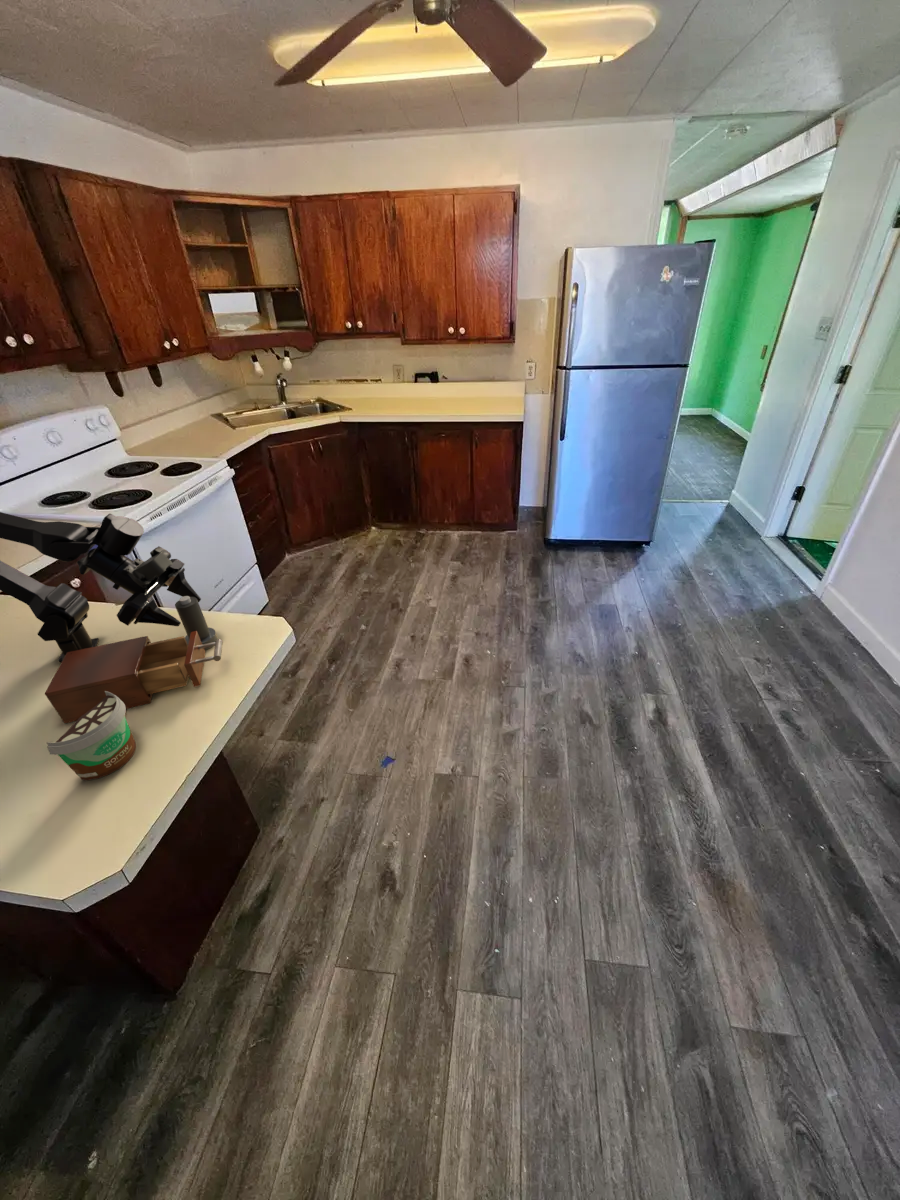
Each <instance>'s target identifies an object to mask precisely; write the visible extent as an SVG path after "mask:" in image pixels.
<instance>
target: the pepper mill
mask: <svg viewBox="0 0 900 1200" xmlns="http://www.w3.org/2000/svg"><path fill="white" fill-rule="evenodd" d="M174 607H175V609H176V612H177V614H178V616H179V619H180V622H181V623H182V626H183V629H184V630H185V633H186V635H188V638H189V639H190V634H191V632H193V631H197V632H198V635H199V637H200V640H201V641H202V640H204V639H206V638H207V637H208V636H209V635H210V631H209V628H210V627H209V625H208V623H207V621H206V619H205V616H204V613H203V611H202V608H201V606H200V602H198V600H197V598H195V597H189V596H184V597H182V596H180V598H179V599H178V600H177V601H176V602H175V604H174ZM208 627H209V628H208Z"/></svg>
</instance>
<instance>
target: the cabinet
mask: <svg viewBox="0 0 900 1200" xmlns="http://www.w3.org/2000/svg"><path fill="white" fill-rule="evenodd" d="M148 643H152V642H151V640H150V638H149V636H148V635H144V636H140V637H135V638H129V639H125V640H120V641H116V642H110V643H106V644H101V645H97V646H95V647H91V648H86V649H81V650H76V651H71V652H67V654H66V655H65V657H64V659H63V661H62V662H60V665H59V666H58V668H57V670H56V671H55V674H54V675H53V677H52V679H51V680H50V683H49V684H48V686H47V689H46V690H45V691H44V695H45V696H46V698H47V700H48V701H49V702H50V704H51V706H52V707H53V708H54V710H55V712H56V713H57V714H58V716H59V717H60V719H61V720H62V722H63V723H64V724H68V723H73V722H76V721H77V720H78V719H79V718H80V717H81V716H82V715H84V714H85V713H87V712H88V711H90V710H91V709H92V708H94V707H95V706H96V705H97V704H98V703H100V702H101V701H102V700H103V699H104V698H105V697H106V694H105V691H107V692H110V693H112V694H114V695H116V696H117V697H118V698H119V699H120V700H121V701H122V702H123V703H124V704H125V707H126V710H128V709H132V708H135V707H139V706H144V705H148V704H151V702H152V698H153V695H154V693H152V694H147V692H146V690H145V688H144V686H143V684H142V682H141V681H140V679H139V677H138V675H137V673H138V670H139V667H140V664H141V661H142V658H143V655H144V652H145V649H146V646H147V644H148Z"/></svg>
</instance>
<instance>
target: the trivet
mask: <svg viewBox="0 0 900 1200" xmlns="http://www.w3.org/2000/svg"><path fill="white" fill-rule="evenodd" d="M208 628H209V631H210V635H209V636H208V637H207V638H206V639H204V640H202V641H201V642H202V645H203V644H208V643H212V642H216V640H217V639H219V637H218V635H217V632H216V629H214V628H213V627H209V626H208ZM184 637H185V640H186V642H187V644H189V638H188V635H187V634H186V635H184ZM212 647H213V646H211V647H207V648H204V650H205V651H206V650H209V649H211V648H212Z"/></svg>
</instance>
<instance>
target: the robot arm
mask: <svg viewBox="0 0 900 1200" xmlns="http://www.w3.org/2000/svg"><path fill="white" fill-rule="evenodd" d="M144 533H145V530H144V527H143V526H142V524H140V523H139V522H138V521H137V520H135V519H134V518H129V517H126V516H121V515H117V516H116V515H114V514H113V513H108V514H106V515H105V516H104V517H103V519H102V521H101V524H100V526H84V525H82V524H81V523H76V522H68V521H61V520H60V521H37V520H33V519H29V518H25V517H21V516H17V515H13V514H9V513H6V512H1V511H0V539H2V540H6V541H11V542H15V543H19V544H23V545H26V546H30V547H32V548H34V549H36V550H37V551H38V552H39V553H40V554H42V555H44V556H47V557H49V558H52V559H55V560H57V561H61V562H65V563H70V562H72V561H75V560H77V559H79V557H81V556H82V555H84V554H86V553H87V554H86V555H85V557H82V558H81V559H79V560H77V561H76V564H77V565H78V571H79V574H80V575H82V576H84V575H85V574H87V573H88V572H90V571H93V572H95V574H98V575H100V576H101V577H103V578H104V579H107V580H108V581H110V582H111V583H113V585H112V588H113V589H115V590H116V591H119V590H120V588H121V589H122V590H125V591H126V592H128V593H129V594H132V595H130V596H129V597H128V599H126V600H125V601H124V602H123V604H122V605H121V608H120V609H119V610H118V612H117V614H116V617H117V619H118V621H119V623H120V622H121V623H122V624H124V625H126V626H129V625H131V624H132V622H133V624H134V625H138V623H140V624H156V625H164V626H170V627H171V626H172V627H179V626H180V625H181V623H182V621H181V620H178V618H176V617H175V616H172V614H170V613H168V612H167V611H165V610H164V609H162V608H161V607H159V606H158V605H157V603H156V602H155V600H154V598H152V597H153V596H154V595H155V594H156V593H157V592H158V591H159V590H160V589H161V588H162V587H164V588H166V591H167V592H170V593H173V594H174V595H178V596H180V597H184V596H189V597H195V598H197V600H198V603H200V602H201V600H202V598H201V597H200V596H199V594H198V593H197V592H196V590H194V588H193V587H192V585H190V583H189V582H188V580H187V579H186V575H185V571H186V568H185V567H184V566H185V562H183V561H181V560H180V559H178V558H172V554H171V552H169V551H168V550H167V549H165V548H164V547H161V546H159V545H158V546H157V547H155V548H154V549H152V551H150V552H149V554H150V557H149V558H148V559H146V560H143V559H141V558H135V559H134V560H132V559H131V558H129V557H127V556H128V555H130V554H131V553H132V552H133V551H134V550H135V547H136V546H137V544H138V543H139V541H140V540H141V538H142V537H143V535H144ZM95 546H97V547H95ZM94 547H95V548H94ZM0 592H3V593H5V594H6V595H8V596H11V597H13V598H14V599H16V600H17V601H20V602H21V603H24V604H25V605H27V606H28V608H29V609H30V611H31V612H32V613H33V615H34V617H35V618H36V619H37V620H39V621H40V622H42V623H43V624H42V625H41V627H40V629H39V630H38V632H37V635H38V637H40V639H42V640H43V641H44V642H51V641H55V643H56V645H57V646H58V648H59V649H60V651H61V654H60V655H59V657H58V663H62V661H63V659H64V657H65V655H66V654H67V652H71V651H76V650H81V649H86V648H91V647H95V646H98V644H99V643H100V638H99V637H95V638H91V636H90V634H89V633H88V631H87V629H86V628H85V626H84V624H83V622H84V621H85V620H86V619H87V618H88V615H89V614H88V612H89V610H90V604H89V601H88V598H86V597H85V596H84V595H82V594H83V592H81V591H78V590H76V589H74V588H73V587H71V586H70V585H68V584H66V583H63V582H61V583H59V584H58V585H57V586H52V585H46V584H44V583H42V582H41V581H38V580H37V579H35V578H33V577H31V576H29V575H28V574H26V573H24V572H23V571H20V570H19V569H16V568H15V567H13V566H12V565H10V564H7V563H6V562H4V561H2V560H0Z"/></svg>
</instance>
